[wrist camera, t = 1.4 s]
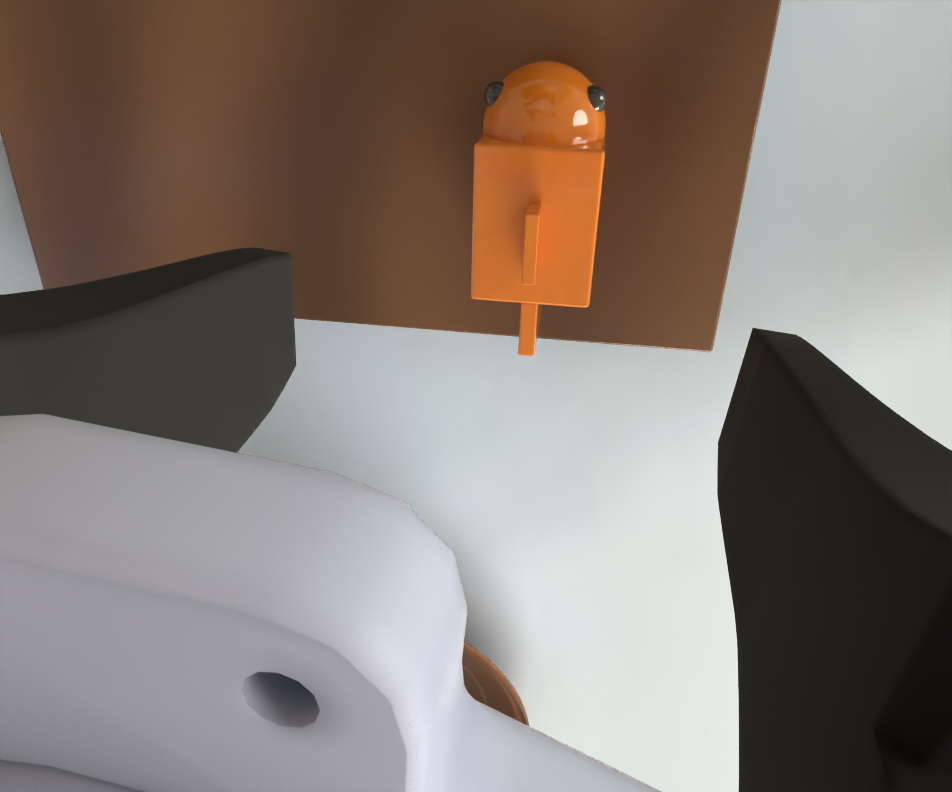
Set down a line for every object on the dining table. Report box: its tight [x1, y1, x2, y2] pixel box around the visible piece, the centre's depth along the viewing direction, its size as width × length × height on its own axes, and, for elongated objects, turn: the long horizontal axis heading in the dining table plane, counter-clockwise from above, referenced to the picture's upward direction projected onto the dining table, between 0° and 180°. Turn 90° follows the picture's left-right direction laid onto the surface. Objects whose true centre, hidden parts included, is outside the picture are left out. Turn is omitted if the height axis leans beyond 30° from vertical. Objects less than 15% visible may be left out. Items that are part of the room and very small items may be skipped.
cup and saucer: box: [462, 642, 529, 726], centre depth 29 cm, size 12×12×6 cm
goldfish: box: [471, 60, 607, 356], centre depth 18 cm, size 6×3×4 cm, turn 179°
